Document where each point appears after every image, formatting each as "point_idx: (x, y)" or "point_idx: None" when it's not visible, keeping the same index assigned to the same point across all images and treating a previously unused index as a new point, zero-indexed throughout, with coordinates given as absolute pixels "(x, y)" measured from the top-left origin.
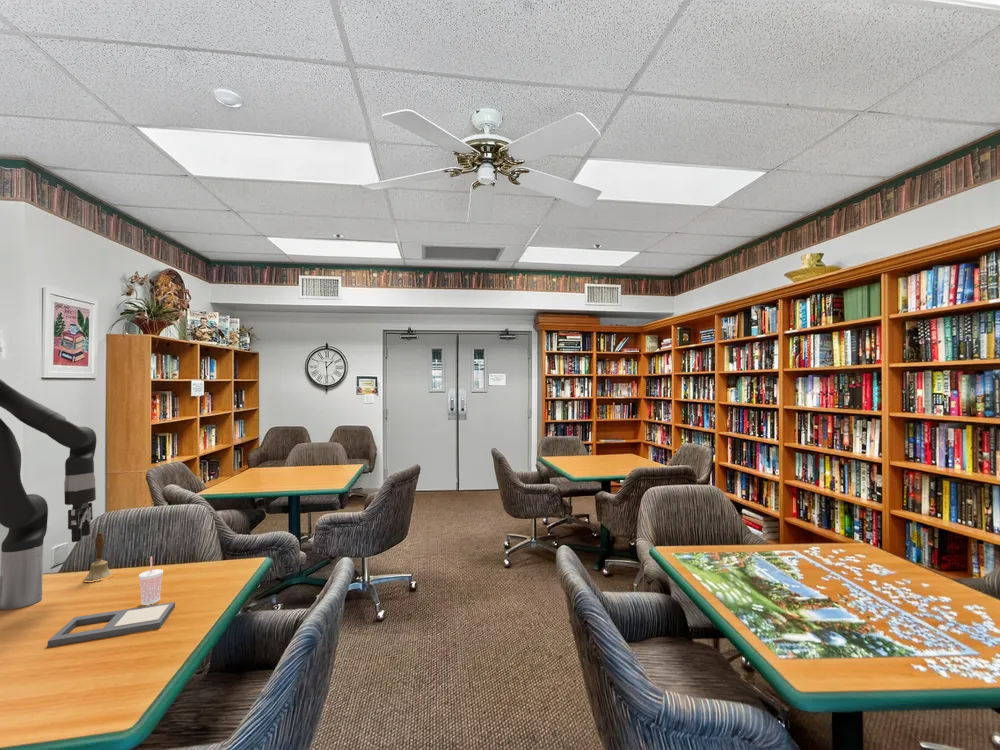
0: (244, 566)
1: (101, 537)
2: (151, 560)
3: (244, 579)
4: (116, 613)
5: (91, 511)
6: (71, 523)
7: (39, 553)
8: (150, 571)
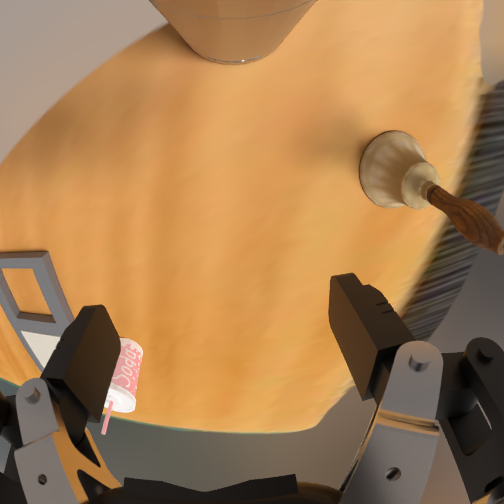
0: (279, 421)
1: (480, 245)
2: (104, 425)
3: (206, 427)
4: (57, 323)
5: (469, 476)
6: (24, 440)
7: (208, 11)
8: (109, 402)
